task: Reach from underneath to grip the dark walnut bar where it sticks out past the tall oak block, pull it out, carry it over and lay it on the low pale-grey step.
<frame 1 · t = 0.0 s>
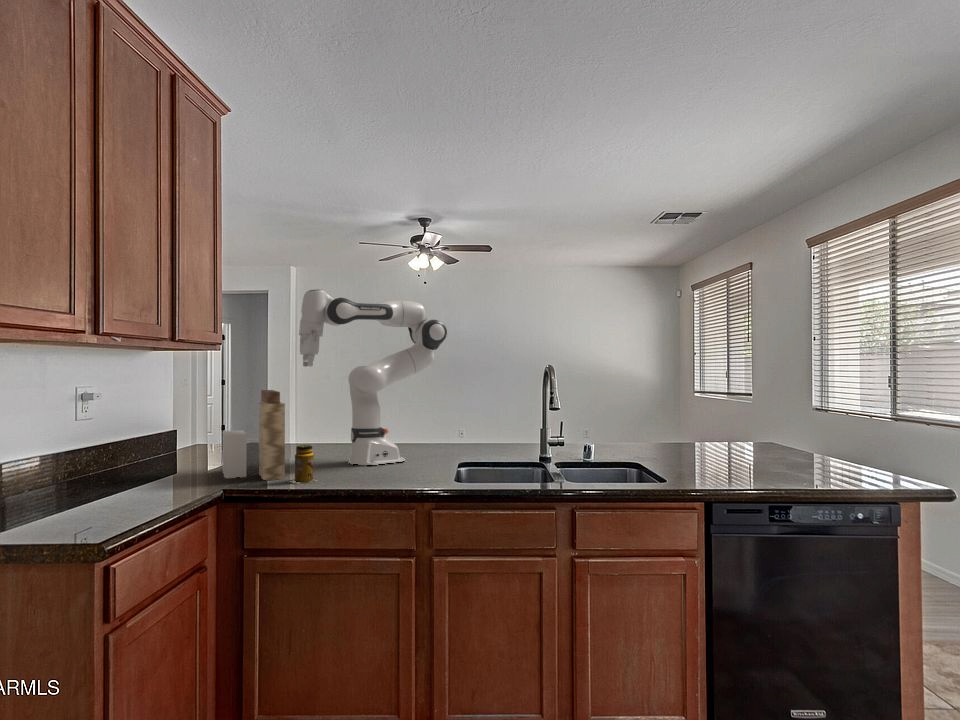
hand: (307, 366, 231), 39 cm above the worktop, tool pointing down, fingers open, 8 cm apart
condiment: (301, 482, 202), on the worktop
step: (234, 474, 216), on the worktop
stand: (271, 476, 211), on the worktop
bar: (270, 402, 215), point 26 cm above the worktop, touching stand
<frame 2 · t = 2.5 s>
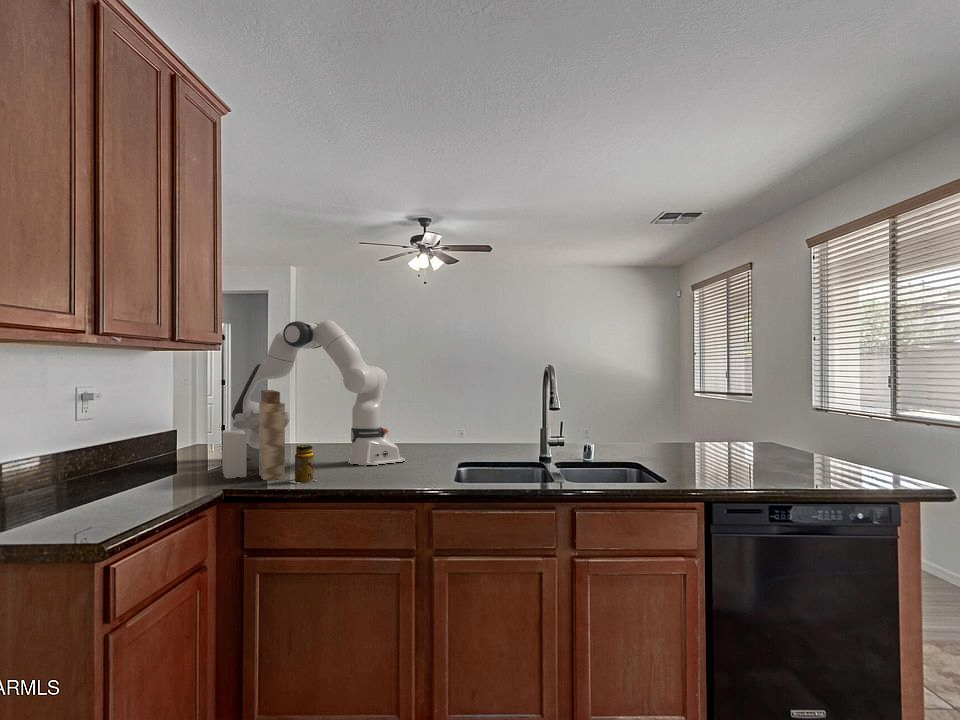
hand: (264, 411, 231), 22 cm above the worktop, tool pointing upward, fingers open, 8 cm apart
nothing on the worktop moved.
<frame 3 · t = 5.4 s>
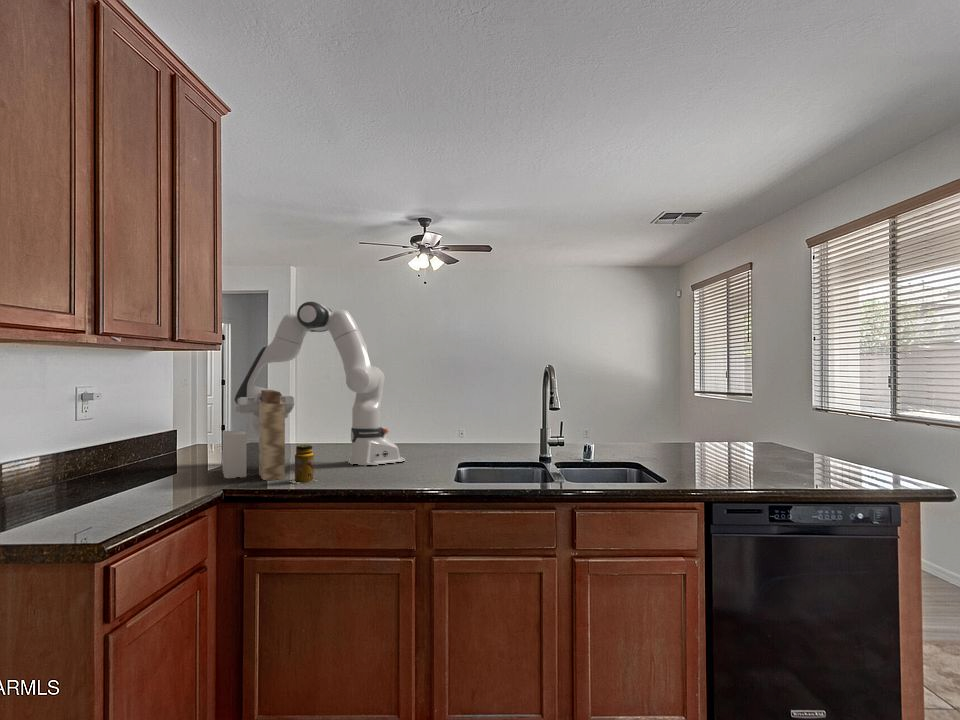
hand: (268, 394, 221), 28 cm above the worktop, tool pointing upward, fingers closed on bar, 4 cm apart
bar: (270, 402, 215), point 26 cm above the worktop, touching gripper, stand
everything else where it was.
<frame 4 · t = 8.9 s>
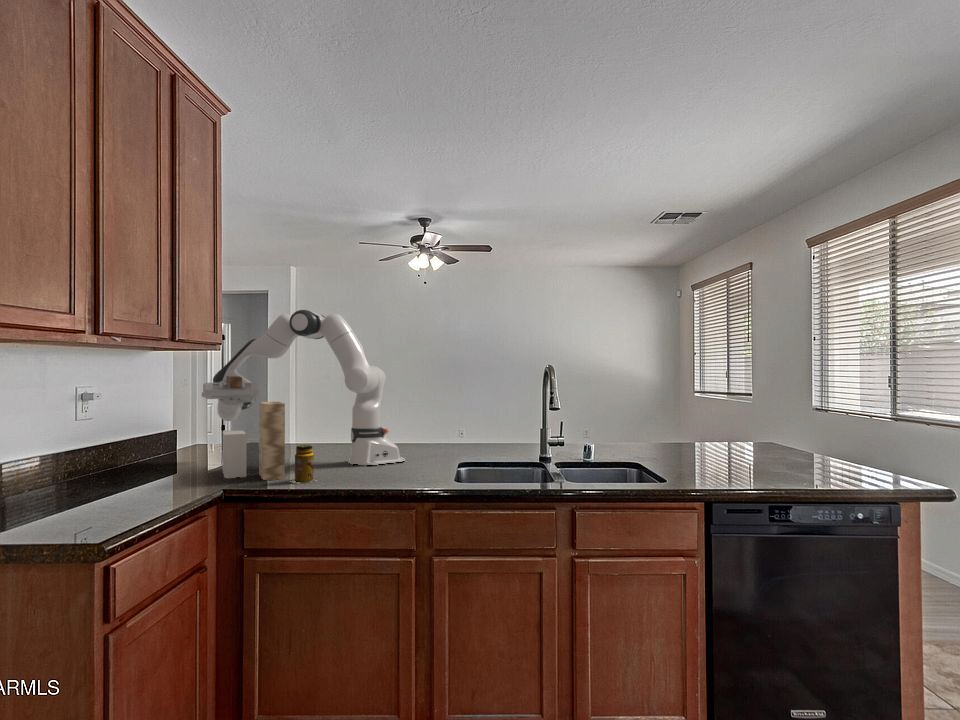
hand: (232, 380, 225), 34 cm above the worktop, tool pointing upward, fingers closed on bar, 4 cm apart
bar: (233, 387, 219), point 31 cm above the worktop, touching gripper
everything else where it was.
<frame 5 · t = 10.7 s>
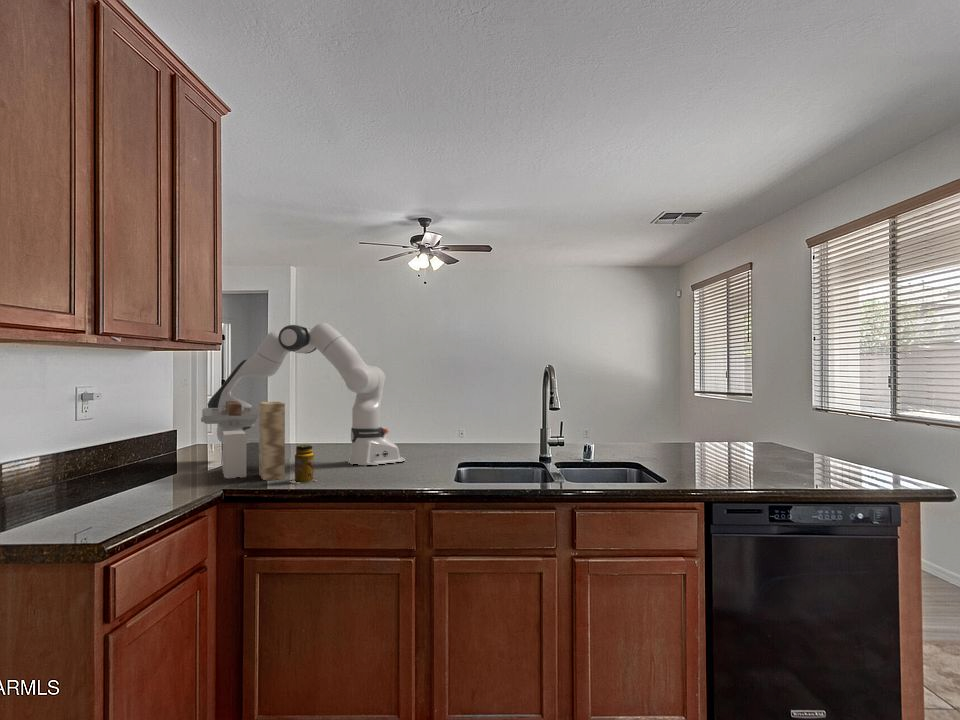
hand: (232, 405, 225), 24 cm above the worktop, tool pointing upward, fingers closed on bar, 4 cm apart
bar: (233, 413, 219), point 22 cm above the worktop, touching gripper
everything else where it was.
when the fingers open (19 cm above the worktop, at t = 12.1 s): bar drops 1 cm, resting on step.
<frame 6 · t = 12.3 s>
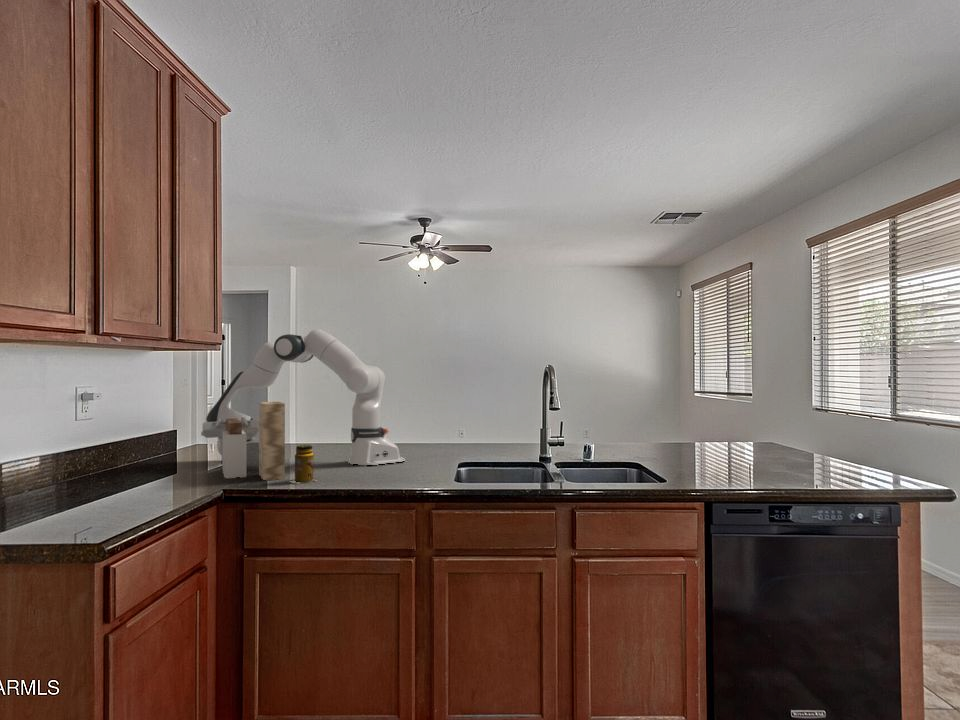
hand: (232, 419, 225), 19 cm above the worktop, tool pointing upward, fingers open, 6 cm apart
bar: (233, 431, 219), point 15 cm above the worktop, touching step
everything else where it was.
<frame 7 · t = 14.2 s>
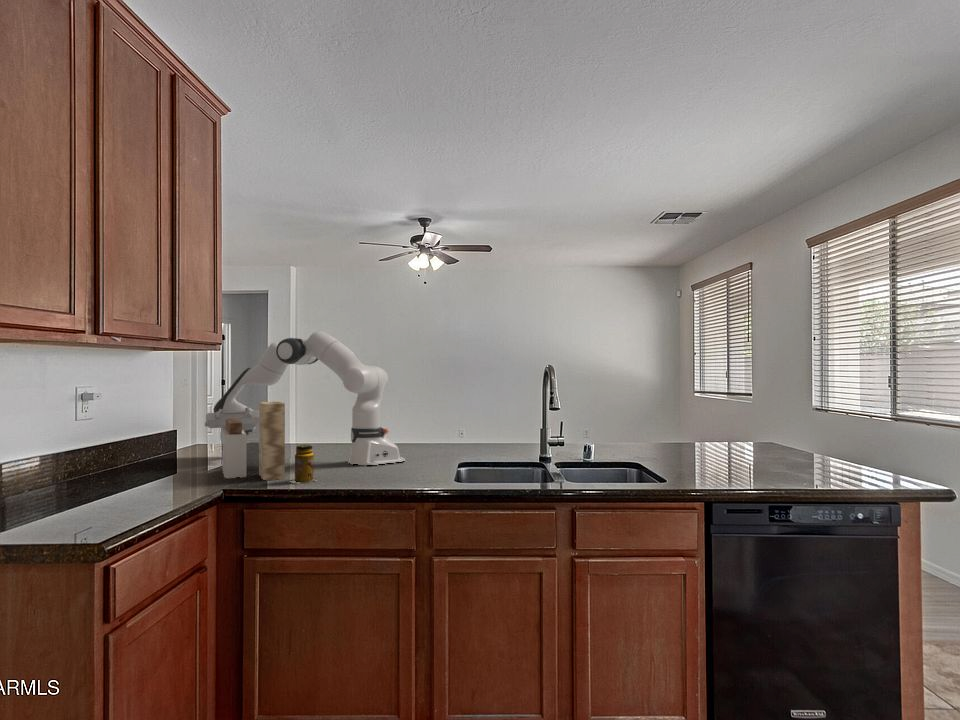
hand: (234, 409, 235), 22 cm above the worktop, tool pointing upward, fingers open, 8 cm apart
nothing on the worktop moved.
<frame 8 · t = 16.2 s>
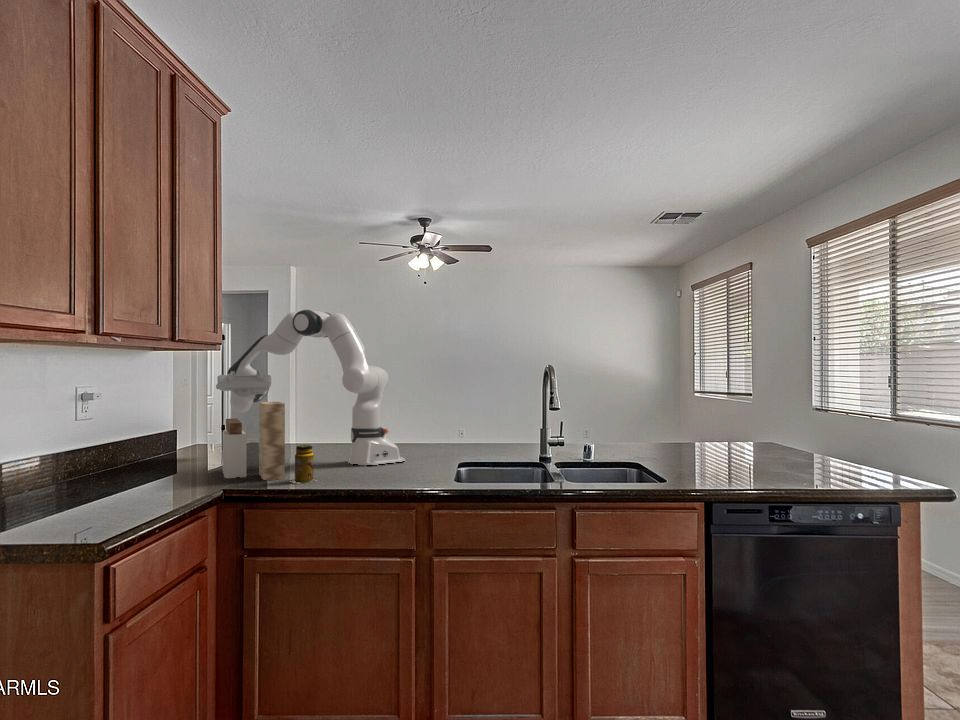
hand: (246, 372, 235), 36 cm above the worktop, tool pointing upward, fingers open, 8 cm apart
nothing on the worktop moved.
at the end: bar inside the target area (1.1 cm from its centre), point 15.0 cm above the worktop; bar touching step; the gripper is holding nothing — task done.
